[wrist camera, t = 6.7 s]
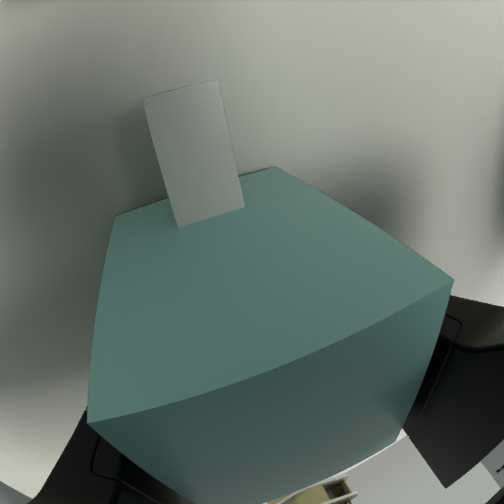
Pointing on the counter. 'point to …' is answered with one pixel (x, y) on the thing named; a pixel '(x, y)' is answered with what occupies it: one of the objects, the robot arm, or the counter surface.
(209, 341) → the block
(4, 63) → the counter surface
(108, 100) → the counter surface
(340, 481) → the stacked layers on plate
